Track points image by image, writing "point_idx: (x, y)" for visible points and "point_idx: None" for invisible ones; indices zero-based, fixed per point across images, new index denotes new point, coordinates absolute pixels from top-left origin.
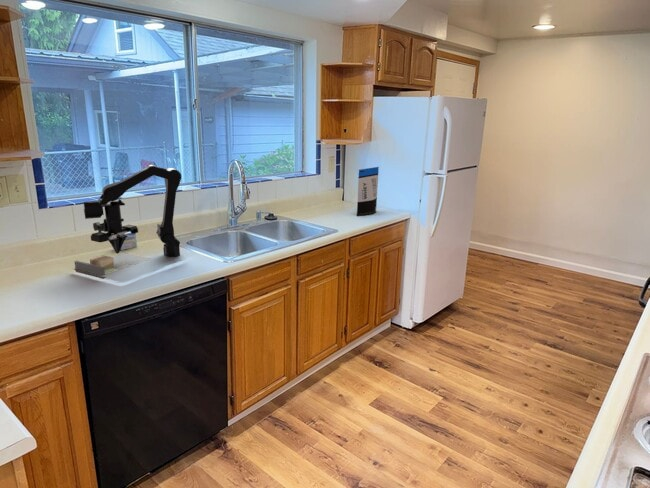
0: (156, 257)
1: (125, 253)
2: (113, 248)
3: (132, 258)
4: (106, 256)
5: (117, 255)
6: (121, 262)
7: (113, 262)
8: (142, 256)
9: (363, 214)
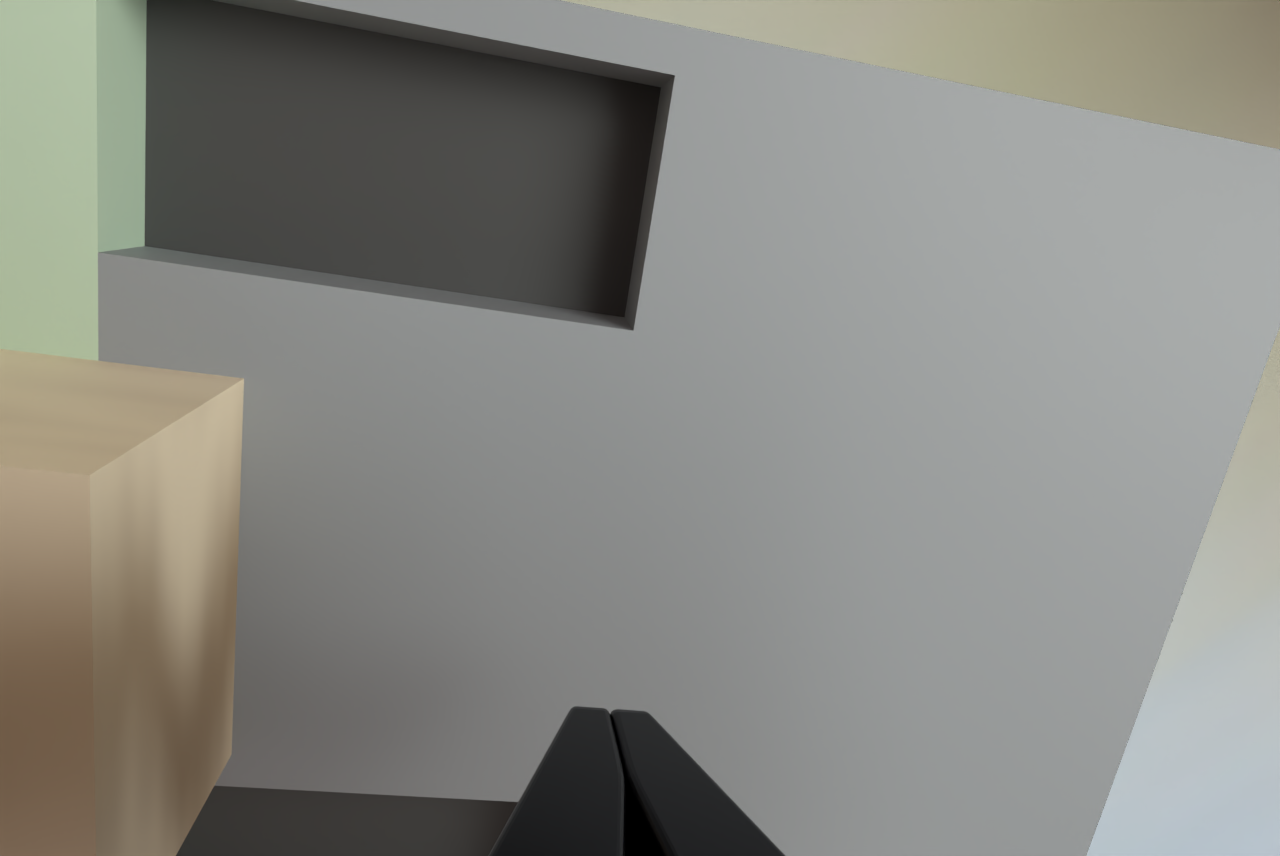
0: (1251, 835)
1: (1276, 217)
2: (509, 818)
3: (927, 683)
4: (37, 740)
5: (1062, 134)
6: (573, 676)
7: (177, 841)
8: (1115, 771)
9: None
